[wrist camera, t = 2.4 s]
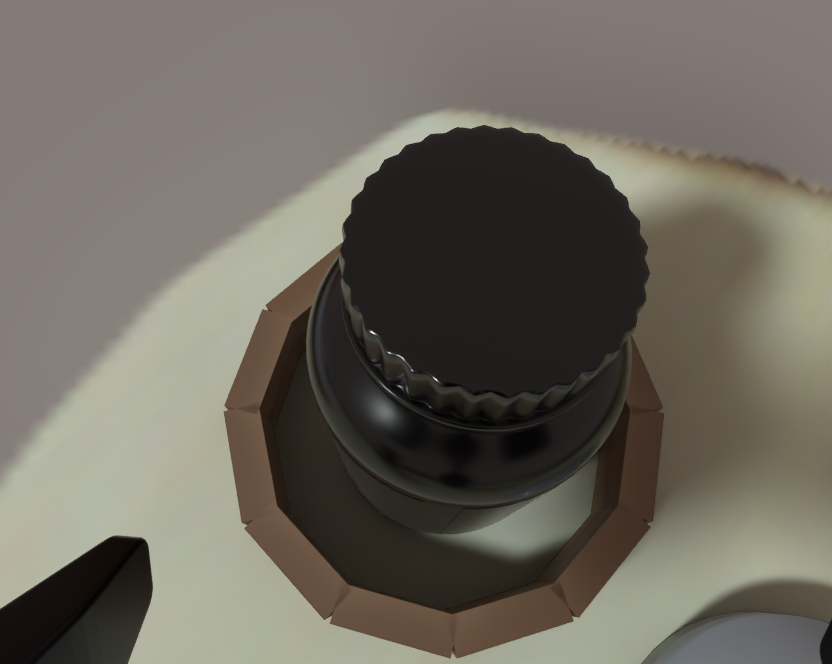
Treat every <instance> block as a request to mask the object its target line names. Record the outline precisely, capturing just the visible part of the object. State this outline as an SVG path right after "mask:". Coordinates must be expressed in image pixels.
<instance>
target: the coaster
mask: <svg viewBox="0 0 832 664" xmlns="http://www.w3.org/2000/svg"><path fill="white" fill-rule="evenodd" d="M828 625H829V623H827V622H824V621H821V620H816V619H811V618H806V617H801V616H795V615H784V614H773V613H759V612H735V613H724V614H720V615H716V616H712V617H708V618H704V619H702V620H700V621H697V622H695V623H692V624H690V625H688V626H685V627H684V628H682V629H681V630H679V631H677V632H676V633H674V634H673V635H671V636H669V637H668V638H667V639H666V640H665V641H663V642H662V643H661V644H660V645H659V646H658V647H656V648H655V649H654V650H653V651H652V652H651V653H650V654H649V656H648V657H647V658H646V659H645V660H644V662H643V663H642V664H822V663H821V658H820V650H819V648H820V642H821V639H822V637H823V635H824V633H825V631H826V629H827V627H828Z"/></svg>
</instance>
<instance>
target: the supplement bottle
mask: <svg viewBox="0 0 832 664" xmlns="http://www.w3.org/2000/svg"><path fill="white" fill-rule="evenodd" d="M342 234H343V240H344V241H343V243H342V245H341V248H340V250H339V255H338V256H337V258H336V259H335V260H334V262H333V263H332V265H331V266H330V268H329V269H328V271H327V272H326V274H325V276H324V278H323V280H322V281H321V283H320V286H319V288H318V290H317V293H316V295H315V298H314V301H313V304H312V308H311V311H310V316H309V321H308V326H307V336H306V357H307V366H308V373H309V377H310V382H311V386H312V390H313V394H314V397H315V400H316V403H317V406H318V408H319V411H320V413H321V415H322V417H323V419H324V421H325V424H326V426H327V428H328V430H329V432H330V434H331V437H332V439H333V441H334V443H335V445H336V447H337V449H338V452H339V454H340V456H341V458H342V460H343V462H344V464H345V466H346V469H347V471H348V473H349V474H350V476H351V478H352V480H353V481H354V483H355V484H356V486H357V487H358V489H359V490H360V492H361V493H362V494H363V495H364V497H365V498H366V499H367V500H368V501H369V502H370V503H371V504H372V505H373V506H374V507H375V508H376V509H378V510H379V511H380V512H382V513H383V514H384V515H386V516H387V517H389V518H390V519H392V520H394V521H395V522H397V523H399V524H402V525H404V526H406V527H409V528H412V529H414V530H418V531H422V532H426V533H433V534H461V533H466V532H472V531H475V530H478V529H482V528H484V527H486V526H489V525H491V524H493V523H496V522H498V521H500V520H501V519H503V518H505V517H507V516H508V515H510V514H512V513H514V512H515V511H517V510H519V509H520V508H522V507H524V506H525V505H527V504H529V503H530V502H532V501H534V500H535V499H537V498H539V497H540V496H542V495H544V494H545V493H547V492H549V491H550V490H552V489H553V488H555V487H557V486H558V485H560V484H561V483H562V482H564V481H565V480H567V479H568V478H570V477H571V476H572V475H573V474H575V473H576V472H577V471H578V470H579V469H580V468H582V467H583V466H584V465H585V464H586V463H587V462H588V461H589V460H590V459H591V458H592V457H593V456H594V454H595V453H596V452H597V451H598V450H599V449H600V448H601V446H602V445H603V444H604V442H605V441H606V439H607V438H608V437H609V435H610V433H611V432H612V430H613V428H614V426H615V425H616V423H617V421H618V418H619V416H620V414H621V412H622V409H623V406H624V403H625V400H626V397H627V394H628V389H629V384H630V379H631V371H632V343H631V335H632V333H633V332H634V330H635V328H636V323H637V314H638V313H639V312H640V310H641V309H642V308H643V307H644V305H645V303H646V293H645V287H644V286H645V284H646V282H647V280H648V278H649V275H650V272H649V269H648V266H647V263H646V261H645V256H646V254H647V249H648V247H647V245H646V243H645V241H644V240H643V238H642V236H641V235H640V221H639V220H638V219H637V217H636V216H635V215H634V214H633V213H632V212H631V211H630V209H629V203H628V200H627V197H626V196H624V195H623V194H622V193H621V192H619V191H618V190H617V189H616V188H615V187H614V184H613V182H612V180H611V178H610V176H608V175H606V174H605V173H603V172H601V171H599V170H597V169H596V168H595V167H594V165H593V163H592V162H591V161H590V160H589V159H588V158H586V157H583V156H581V155H578V154H575V153H574V152H573V151H572V150H571V149H570V148H568V147H567V146H566V145H565V144H561V143H557V142H551V141H549V140H547V139H546V138H545V137H543V136H542V135H540V134H534V133H523V132H521V131H519V130H517V129H514V128H512V127H511V128H501V129H496V128H493V127H490V126H486V125H483V126H478V127H475V128H472V129H469V128H459V127H457V128H454V129H452V130H450V131H449V132H447V133H440V134H430V135H429V136H427V137H426V138H425V139H424V140H423V141H421V142H418V143H413V144H409V145H406V146H405V147H404V148H403V149H402V151H401V152H400V153H399V154H398V155H395V156H392V157H390V158H388V159H385V160H384V162H383V163H382V165H381V167H380V169H379V171H377V172H375V173H374V174H372V175H370V176H369V177H367V178H366V180H365V183H364V188H363V190H362V191H361V192H360V193H359V194H358V195H357V196H356V197H355V198H354V199H353V200H352V203H351V214H350V215H349V216H348V218H347V219H346V220H345V222H344V223H343V226H342Z"/></svg>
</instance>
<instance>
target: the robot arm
mask: <svg viewBox="0 0 832 664" xmlns="http://www.w3.org/2000/svg"><path fill="white" fill-rule="evenodd" d="M152 591H153V583H152V574H151V565H150V556H149V547H148V544H147V542H146V540H145V539H143V538H141V537H130V536H118V535H117V536H112V537H110V538H108V539H106V540H104V541H103V542H101V543H100V544H98V545H97V546H95V547H94V548H92V549H91V550H89V551H88V552H86V553H85V554H83V555H82V556H80V557H78V558H77V559H75V560H74V561H72V562H71V563H69V564H68V565H66V566H65V567H63V568H62V569H60V570H59V571H57V572H56V573H54V574H53V575H51V576H50V577H48V578H47V579H45V580H43V581H42V582H40V583H39V584H37V585H36V586H34V587H33V588H31V589H30V590H28V591H27V592H25V593H24V594H22V595H21V596H19V597H18V598H16V599H15V600H13V601H12V602H10V603H8V604H7V605H5V606H4V607H2V608H1V609H0V664H128V662H129V659H130V656H131V654H132V651H133V648H134V646H135V643H136V640H137V637H138V635H139V632H140V629H141V627H142V624H143V621H144V619H145V616H146V613H147V611H148V608H149V605H150V602H151V598H152ZM819 650H820V658H821V663H822V664H832V619H831V621H830V623H829V625H828V627H827V629H826V631H825V633H824V635H823V637H822V639H821V642H820V648H819Z"/></svg>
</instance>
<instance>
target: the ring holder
mask: <svg viewBox="0 0 832 664" xmlns="http://www.w3.org/2000/svg"><path fill="white" fill-rule="evenodd" d="M341 245H342V243H341V244H340V245H338V246H337V247H336V248H335V249H333V250H332V251H331V252H330V253H329V254H327V255H326V256H325V257H324V258H322V259H321V260H320V261H319V262H318V263H316V264H315V265H314V266H313V267H311V268H310V269H309V270H308V271H307V272H305V273H304V274H303V275H302V276H301V277H299V278H298V279H297V280H296V281H294V282H293V283H292V284H291V285H290V286H288V287H287V288H286V289H285V290H283V291H282V292H281V293H280V294H279V295H277V296H276V297H275V298H274V299H272V300H271V301H270V302H269V303H268V304H266V307H267V309H268V311H267V310H264V309H262V312H261V314H260V317H259V320H258V322H257V325H256V327H255V330H254V332H253V335H252V337H251V340H250V342H249V345H248V347H247V350H246V352H245V355H244V357H243V360H242V363H241V365H240V368H239V370H238V373H237V375H236V378H235V380H234V383H233V385H232V388H231V390H230V393H229V395H228V398H227V400H226V403H225V407H226V408H227V409H228V411H224V416H225V422H226V429H227V435H228V441H229V447H230V453H231V459H232V466H233V472H234V478H235V484H236V490H237V496H238V503H239V509H240V515H241V521H242V523H244V524H246V525H248V526H246V527H245V528H244V529H245V530H246V531H247V532H248V533H249V534H250V535H251V537H252V538H253V539H254V540H255V541H256V542H257V543H258V545H259V546H260V547H261V548H262V549H263V550H264V551H265V553H266V554H267V555H268V556H269V557H270V558H271V560H272V561H273V562H274V563H275V564H276V565H277V566H278V568H279V569H280V570H281V571H282V572H283V573H284V574H285V576H286V577H287V578H288V579H289V580H290V581H291V582H292V584H293V585H294V586H295V587H296V588H297V589H298V590H299V592H300V593H301V594H302V595H303V596H304V597H305V598H306V600H307V601H308V602H309V603H310V604H311V605H312V607H313V608H314V609H315V610H316V611H317V612H318V613H319V615H320V616H321V617H322V618H323V619H324V620H325V619H327V618H328V617H330V616H332V618H331V622H330V624H333V625H336V626H340V627H343V628H347V629H350V630H354V631H357V632H360V633H364V634H367V635H371V636H374V637H378V638H381V639H385V640H388V641H392V642H395V643H399V644H402V645H406V646H409V647H412V648H416V649H419V650H423V651H426V652H430V653H433V654H437V655H440V656H444V657H447V658H451V654H452V653H453V654H454V655H455V657H456V658H460V657H463V656H466V655H469V654H472V653H476V652H479V651H482V650H485V649H488V648H491V647H494V646H497V645H501V644H504V643H507V642H510V641H513V640H516V639H519V638H523V637H526V636H529V635H532V634H535V633H538V632H541V631H545V630H548V629H551V628H554V627H557V626H560V625H563V624H566V623H570V622H573V618H572V616H574V617H580V616H581V614H582V613H583V612H584V610H585V609H586V608H587V607H588V605H589V604H590V603H591V602H592V600H593V599H594V598H595V597H596V595H597V594H598V593H599V591H600V590H601V589H602V588H603V586H604V585H605V584H606V583H607V581H608V580H609V579H610V578H611V576H612V575H613V574H614V572H615V571H616V570H617V569H618V567H619V566H620V565H621V564H622V562H623V561H624V560H625V559H626V557H627V556H628V555H629V554H630V552H631V551H632V550H633V548H634V547H635V546H636V545H637V543H638V542H639V541H640V540H641V538H642V537H643V536H644V535H645V533H646V532H647V531H648V529H649V528H650V526H649V525H648V524H647V523H648V522H652V521H653V514H654V504H655V494H656V485H657V475H658V466H659V456H660V447H661V437H662V428H663V418H664V413H661V412H657V411H659V410H660V409H662V408H663V407H662V404H661V402H660V400H659V397H658V395H657V393H656V390H655V388H654V386H653V383H652V381H651V379H650V377H649V374H648V372H647V370H646V367H645V365H644V363H643V360H642V358H641V356H640V354H639V351H638V349H637V347H636V344H635V342H634V340H633V337H632V335H631V343H632V371H631V379H630V384H629V389H628V394H627V397H626V400H625V403H624V406H623V409H622V412H621V414H620V416H619V418H618V421H617V423H616V425H615V426H614V428H613V430H612V432H611V433H610V435H609V437H608V438H607V439H606V441H605V442H604V444H603V445H602V446H601V448H600V453H599V460H598V467H597V474H596V481H595V488H594V495H593V502H592V509H591V515H590V516H589V517H588V518H587V519H586V521H585V522H584V523H583V524H582V525H581V527H580V528H579V529H578V530H577V531H576V533H575V534H574V535H573V536H572V537H571V538H570V540H569V541H568V542H567V543H566V544H565V546H564V547H563V548H562V549H561V550H560V552H559V553H558V554H557V555H556V556H555V558H554V559H553V560H552V561H551V562H550V564H549V565H548V566H547V567H546V568H545V570H544V571H543V572H542V573H541V574H540V576H539V577H538V578H537V579H536V580H535V582H534V583H531V584H528V585H525V586H521V587H518V588H515V589H512V590H508V591H505V592H502V593H499V594H495V595H492V596H489V597H486V598H482V599H479V600H476V601H473V602H469V603H466V604H463V605H460V606H456V607H453V608H450V609H446V610H442V609H439V608H435V607H432V606H428V605H425V604H421V603H418V602H414V601H410V600H407V599H403V598H400V597H396V596H393V595H389V594H386V593H382V592H379V591H375V590H372V589H368V588H365V587H361V586H358V585H354V584H352V582H351V581H350V580H349V579H348V578H347V577H346V576H345V575H344V574H343V572H342V571H341V570H340V569H339V568H338V567H337V566H336V565H335V564H334V562H333V561H332V560H331V559H330V558H329V557H328V556H327V555H326V554H325V553H324V551H323V550H322V549H321V548H320V547H319V546H318V545H317V544H316V543H315V541H314V540H313V539H312V538H311V537H310V536H309V535H308V534H307V533H306V531H305V530H304V529H303V528H302V527H301V526H300V525H299V524H298V523H297V522H296V520H295V519H294V518H293V517H292V516H291V514H290V509H289V503H288V498H287V493H286V488H285V482H284V477H283V472H282V467H281V462H280V456H279V451H278V446H277V441H276V435H275V430H274V428H275V425H276V422H277V419H278V416H279V414H280V411H281V408H282V405H283V402H284V400H285V397H286V394H287V391H288V388H289V386H290V383H291V380H292V377H293V374H294V372H295V369H296V366H297V363H298V360H299V358H300V355H301V352H302V350H303V349H304V348H306V336H307V326H308V321H309V316H310V311H311V308H312V304H313V301H314V298H315V295H316V293H317V290H318V288H319V286H320V283H321V281H322V280H323V278H324V276H325V274H326V272H327V271H328V269H329V268H330V266H331V265H332V263H333V262H334V260H335V259H336V258H337V256H338V255H339V250H340V248H341Z"/></svg>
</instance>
